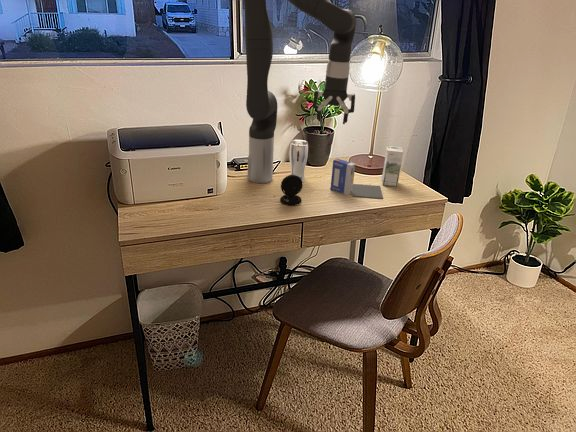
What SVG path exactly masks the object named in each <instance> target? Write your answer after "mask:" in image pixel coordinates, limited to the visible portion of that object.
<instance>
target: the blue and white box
mask: <svg viewBox="0 0 576 432" xmlns="http://www.w3.org/2000/svg"><path fill="white" fill-rule="evenodd" d="M355 171H356V163H354V162H350V161H347V160H343V159H340V158H335V159H333V161H332V170H331V178H330V180H331V181H330V187H329V188H330V191H334V192H337V193H339V194H343V195H345V196H349V195H351V194H352V189H353V184H354V182H355V181H354V180H355V179H354V178H355Z"/></svg>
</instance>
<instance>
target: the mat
mask: <svg viewBox="0 0 576 432" xmlns="http://www.w3.org/2000/svg"><path fill="white" fill-rule="evenodd" d="M351 196H352V198H353V197H354V198H365V199H366V198H367V199H378V200H381V199H382V200H383V199H384V196H383V192H382V188H381V185H374V184H373V185H372V184H358V183H353V189H352V195H351Z"/></svg>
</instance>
